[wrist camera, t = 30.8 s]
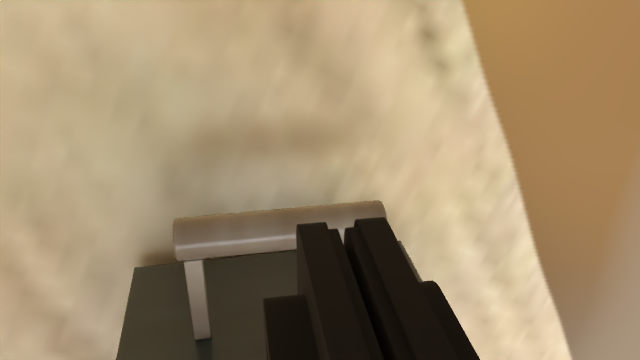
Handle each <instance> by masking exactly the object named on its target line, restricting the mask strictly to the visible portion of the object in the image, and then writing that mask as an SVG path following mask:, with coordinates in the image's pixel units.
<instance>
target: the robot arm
mask: <svg viewBox="0 0 640 360" xmlns="http://www.w3.org/2000/svg"><path fill="white" fill-rule="evenodd" d="M296 253H297V295H289V296H279V297H269V298H263V317H264V334H265V348H266V360H480V359H479V357H478V355H477V353H476V352H475V350H474V348H473V346H472V344H471V343H470V341H469V339H468V337H467V336H466V334H465V332H464V330H463V328H462V327H461V325H460V323H459V321H458V319H457V318H456V316H455V314H454V312H453V310H452V309H451V307H450V305H449V303H448V301H447V300H446V298H445V296H444V294H443V293H442V291H441V289H440V287H439V286H438V285H437V283H436V282H434V281H424V282H418V280H417V278H416V276H415V274H414V272H413V270H412V268H411V266H410V264H409V262H408V261H407V259H406V257H405V255H404V253H403V251H402V249H401V247H400V245H399V243H398V241H397V239H396V237H395V235H394V233H393V231H392V229H391V227H390V225H389V223H388V221H387V220H386V218H385V217H376V218H364V219H356V220H355V222H354V227H347V228H345V231H344V245H343V242H342V239H341V236H340V233H339V231H338V229H337V228H336V229H328V226H327V223H326V222H317V223H305V224H297V226H296Z"/></svg>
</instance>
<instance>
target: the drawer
mask: <svg viewBox="0 0 640 360" xmlns="http://www.w3.org/2000/svg"><path fill="white" fill-rule="evenodd" d="M376 217H385V218H386V220H387V217H386V212H385V208H384V206H383V204H382V202H381V201H378V200H377V201H366V202H354V203H343V204H332V205H320V206H309V207H297V208H286V209H275V210H263V211H252V212H240V213H229V214H218V215H206V216H195V217H183V218H175V219H174V220H173V227H172V234H173V247H174V254H175V258H176V260H177V261H184V262H183V263H173V264H163V265H153V266H144V267H135V268H134V273H133V278H132V283H131V288H130V293H129V298H128V303H127V308H126V313H125V318H124V323H123V328H122V333H121V338H120V343H119V348H118V353H117V358H116V360H266V348H265V334H264V317H263V298H269V297H279V296H289V295H297V253H296V251H293V252H283V253H273V254H263V255H253V256H243V257H233V258H223V259H213V260H203V259H204V258H215V257H225V256H235V255H245V254H255V253H265V252H275V251H285V250H295V249H296V226H297V224H305V223H317V222H326V223H327V226H328V229H336V228H337V229H338V231H339V233H340V236H341V239H342V242H343V245H344V231H345V228H347V227H354V222H355V220H356V219H364V218H376ZM398 243H399V245H400V247H401V249H402V251H403V253H404V255H405V257H406V259H407V261H408V262H409V264H410V266H411V268H412V270H413V272H414V274H415V276H416V278H417V280H418V282H423V281H422V280H421V278H420V276H419V274H418V272H417V270H416V269H415V267H414V265H413V263H412V261H411V259H410V257H409V256H408V254H407V252H406V250H405V248H404V246H403V245H402V243H401V241H398Z"/></svg>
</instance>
